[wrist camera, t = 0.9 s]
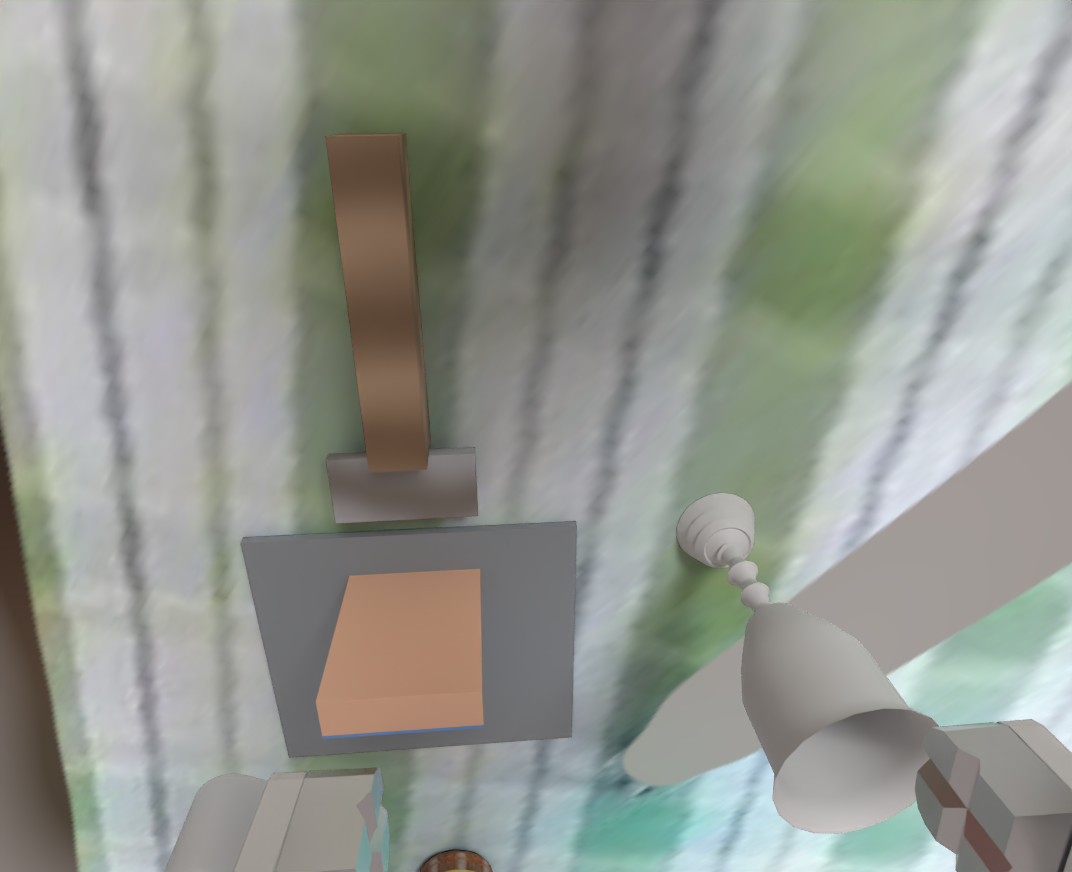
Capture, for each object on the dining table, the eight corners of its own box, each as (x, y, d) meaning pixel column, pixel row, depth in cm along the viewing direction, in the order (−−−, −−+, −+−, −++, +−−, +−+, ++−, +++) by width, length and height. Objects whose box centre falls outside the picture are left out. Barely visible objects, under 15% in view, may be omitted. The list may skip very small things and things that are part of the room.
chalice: (713, 590, 46) (845, 854, 29) (638, 541, 43) (736, 796, 27) (793, 513, 44) (982, 752, 27) (718, 458, 41) (876, 681, 25)
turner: (287, 134, 32) (264, 137, 29) (458, 132, 33) (457, 134, 29) (342, 501, 41) (330, 539, 37) (477, 494, 41) (478, 531, 38)
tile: (349, 575, 42) (315, 702, 33) (480, 568, 43) (481, 690, 34) (354, 608, 43) (322, 739, 34) (481, 600, 44) (484, 727, 35)
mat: (243, 537, 41) (240, 543, 40) (575, 521, 42) (576, 526, 42) (291, 750, 49) (289, 757, 48) (570, 730, 50) (571, 737, 50)
